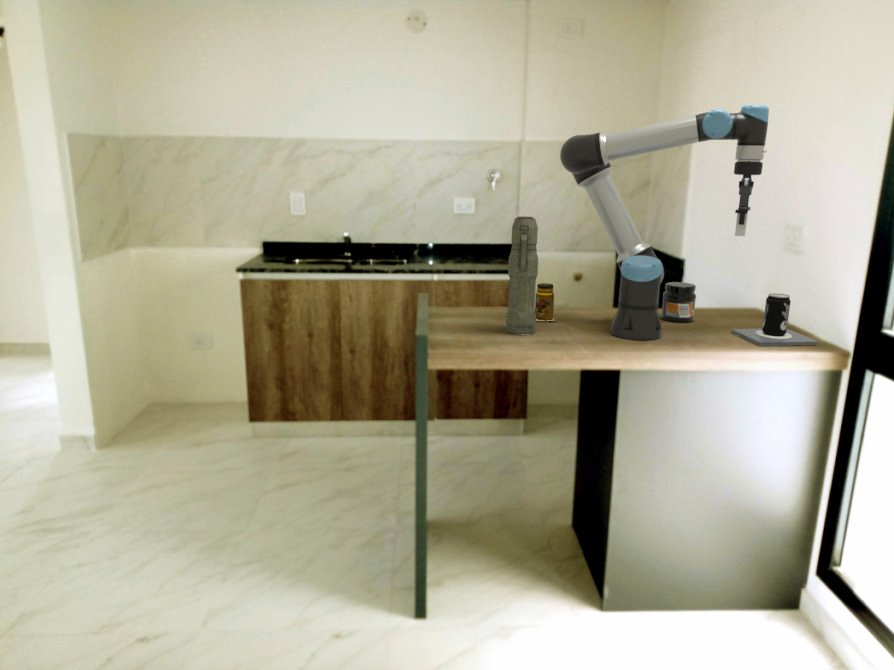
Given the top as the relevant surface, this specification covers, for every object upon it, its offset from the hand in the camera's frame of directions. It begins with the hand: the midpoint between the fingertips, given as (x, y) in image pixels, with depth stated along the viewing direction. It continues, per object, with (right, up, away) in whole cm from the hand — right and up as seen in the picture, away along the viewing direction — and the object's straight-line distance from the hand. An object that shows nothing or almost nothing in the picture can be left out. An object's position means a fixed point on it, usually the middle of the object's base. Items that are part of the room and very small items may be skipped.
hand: (740, 234), depth 204 cm
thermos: (-66, -30, +5) cm, 72 cm away
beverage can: (+10, -30, +1) cm, 32 cm away
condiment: (-56, -25, +23) cm, 65 cm away
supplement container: (-10, -25, +25) cm, 37 cm away
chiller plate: (+10, -32, +1) cm, 33 cm away
